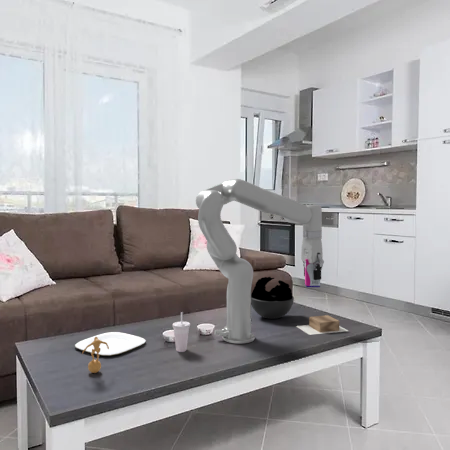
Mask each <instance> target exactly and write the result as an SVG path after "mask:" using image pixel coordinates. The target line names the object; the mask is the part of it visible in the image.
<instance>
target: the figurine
mask: <svg viewBox="0 0 450 450" xmlns="http://www.w3.org/2000/svg"><path fill="white" fill-rule="evenodd" d="M101 343H103V344H106V346H107V349H109V346H108V344H107V343H106V342H103V341H100V340H99V339H98V338H97V337H95V338H94V341H93V342H92V343H91V344H89V345H88V346H87V347H90V346H91V345H93V346H94V349H92V352H91V353H90V354H91V359H92V360H91V361H89V362H88V363H87V364H88V365H87V370H88V371H89V372H90V373H92V374H93V373H94V374H96V373H98V372H99V371H101V368H102V363H101V361H100V360H99V359H100V355H99V354H98V353H99V352H100V350H101V348H99V346H100V344H101ZM87 347H86V348H85V349H84V351H82V355H84V352H85V350H86V349H87ZM95 351H96V352H97V355H96V359H95V354H94V353H95Z"/></svg>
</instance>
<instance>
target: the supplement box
mask: <svg viewBox="0 0 450 450" xmlns="http://www.w3.org/2000/svg"><path fill="white" fill-rule="evenodd" d="M315 262H319V260H318V261H315ZM317 265H318V264H316V267H317ZM314 270H315V269H314V266H313V264H310V263H308V259H305V276H304V285H305V287H306V288H321V280H314Z"/></svg>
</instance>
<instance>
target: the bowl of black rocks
mask: <svg viewBox="0 0 450 450" xmlns="http://www.w3.org/2000/svg"><path fill="white" fill-rule="evenodd" d="M274 279H275V277H271V276H264V277H261V278H258V279H257V281H256V282H255V286H254V287H253V289H252V291H251V308H252V309H253V310H254V311H255V313H257V315H259V316H260V317H262V318H264V319H268V320H277V319H280V318H282V317H284V316H286V315H287V313H289V312H290V310H291V309H292V307H293V305H294V301H295V298H294V296H293V293H292V289H291V287H290V284H289V283H287V282H284V281H283V280H278V281H277V282H278V283H279V285H278V284H276V285H275V286H274V287H272V288H271V289H270V290H269V291H268V290H266V285H267V284H268V283H270V282H271V281H272V280H274Z"/></svg>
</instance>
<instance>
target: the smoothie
mask: <svg viewBox="0 0 450 450" xmlns="http://www.w3.org/2000/svg"><path fill="white" fill-rule="evenodd" d="M190 327H191V323H190V322H189V321H184V320H183V311H182V312H181V311H180V321H176V322H173V323H172V328H173V337H174V343H175V344H174V345H175V351H176V352H179V353H184V352H186V351H187V349H188V341H189V332H190Z"/></svg>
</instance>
